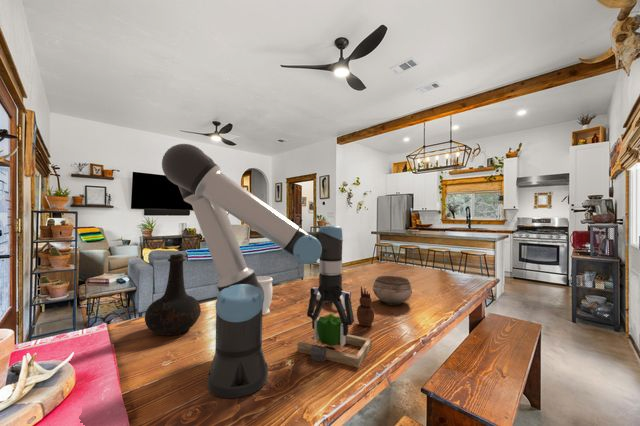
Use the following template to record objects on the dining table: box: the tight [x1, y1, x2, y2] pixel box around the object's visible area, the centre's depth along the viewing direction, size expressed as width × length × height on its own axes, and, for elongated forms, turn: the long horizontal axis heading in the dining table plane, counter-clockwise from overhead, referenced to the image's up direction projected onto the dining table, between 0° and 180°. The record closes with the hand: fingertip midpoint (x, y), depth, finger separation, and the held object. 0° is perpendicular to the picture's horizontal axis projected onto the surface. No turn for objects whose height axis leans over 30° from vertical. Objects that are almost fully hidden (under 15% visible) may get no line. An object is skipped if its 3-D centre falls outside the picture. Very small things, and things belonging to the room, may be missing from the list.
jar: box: [256, 275, 274, 316], centre depth 121 cm, size 11×10×15 cm
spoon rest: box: [316, 291, 346, 311], centre depth 135 cm, size 24×12×7 cm, turn 32°
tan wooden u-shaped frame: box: [296, 333, 373, 369], centre depth 89 cm, size 18×20×4 cm
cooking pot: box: [372, 274, 413, 306], centre depth 137 cm, size 25×19×12 cm
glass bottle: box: [144, 253, 202, 336], centre depth 101 cm, size 18×18×28 cm
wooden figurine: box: [356, 286, 375, 327], centre depth 109 cm, size 7×6×15 cm
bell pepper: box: [317, 313, 342, 347], centre depth 90 cm, size 8×8×10 cm
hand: (329, 341), depth 90 cm, fingers closed on bell pepper, 8 cm apart
